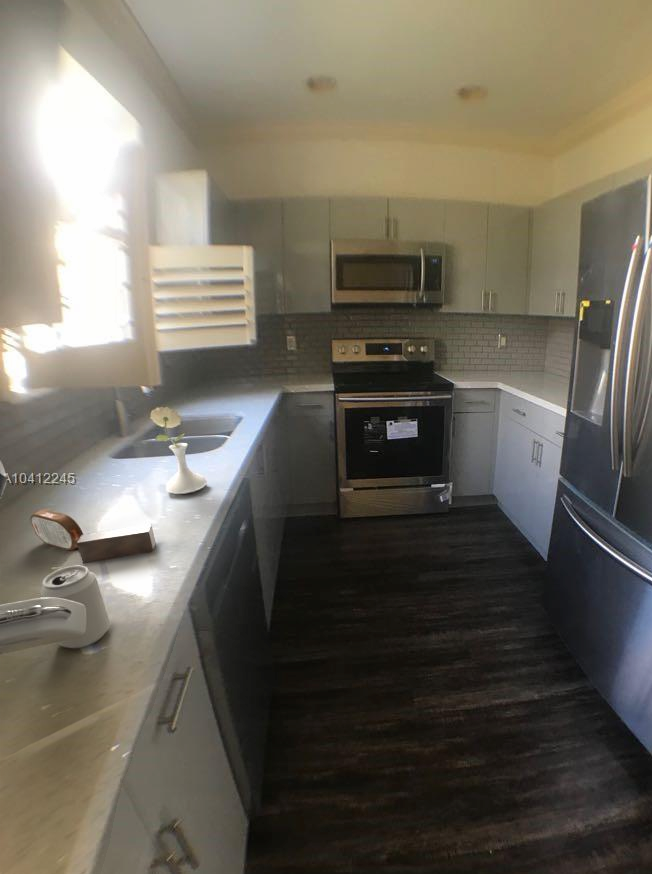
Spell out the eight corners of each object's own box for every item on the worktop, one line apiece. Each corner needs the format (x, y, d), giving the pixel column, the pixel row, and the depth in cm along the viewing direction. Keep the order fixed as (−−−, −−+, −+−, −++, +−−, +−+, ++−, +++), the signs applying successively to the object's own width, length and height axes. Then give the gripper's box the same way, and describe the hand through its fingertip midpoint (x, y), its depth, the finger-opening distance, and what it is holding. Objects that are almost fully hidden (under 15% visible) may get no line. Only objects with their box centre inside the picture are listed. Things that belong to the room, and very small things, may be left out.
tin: (89, 548, 105) (78, 515, 101) (75, 555, 102) (64, 521, 99) (48, 536, 111) (37, 505, 107) (35, 542, 108) (23, 510, 105)
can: (56, 634, 77) (34, 574, 72) (106, 615, 81) (88, 557, 77) (62, 659, 71) (38, 594, 67) (115, 637, 76) (96, 575, 72)
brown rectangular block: (82, 563, 98) (76, 543, 97) (87, 554, 102) (81, 534, 100) (153, 551, 102) (148, 531, 100) (155, 543, 106) (151, 523, 104)
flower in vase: (215, 483, 140) (200, 402, 131) (192, 498, 130) (174, 412, 120) (178, 481, 143) (161, 402, 134) (153, 495, 133) (133, 410, 124)
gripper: (58, 574, 45) (105, 600, 58) (-212, 620, 40) (-96, 638, 52) (56, 639, 43) (106, 651, 55) (-230, 698, 37) (-104, 697, 50)
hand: (7, 645), depth 54 cm, fingers closed
